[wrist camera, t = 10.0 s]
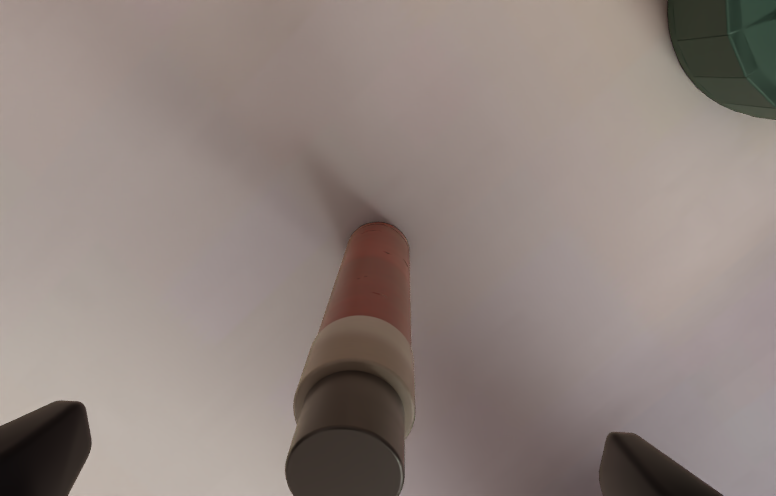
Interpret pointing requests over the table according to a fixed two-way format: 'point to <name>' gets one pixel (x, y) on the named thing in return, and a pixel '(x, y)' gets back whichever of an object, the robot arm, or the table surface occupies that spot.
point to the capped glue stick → (358, 376)
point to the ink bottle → (728, 51)
